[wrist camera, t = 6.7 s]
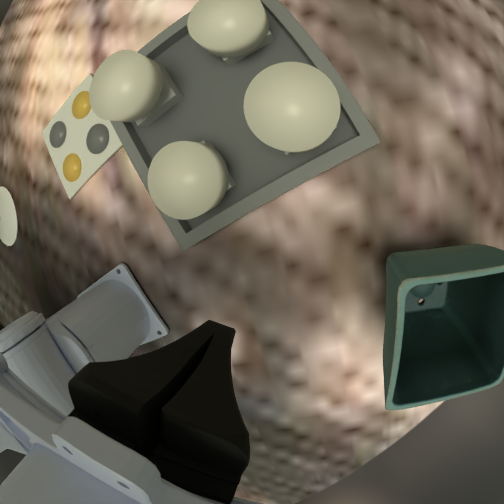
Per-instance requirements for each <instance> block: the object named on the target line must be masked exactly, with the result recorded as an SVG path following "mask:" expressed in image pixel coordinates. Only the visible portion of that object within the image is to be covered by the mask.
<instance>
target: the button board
mask: <svg viewBox="0 0 504 504" xmlns="http://www.w3.org/2000/svg"><path fill="white" fill-rule="evenodd" d="M260 1H261V3H262V5H263V7H264V10H265V12H266V15H267V17H268V20H269V29H268V33H267V35H266V37H265V39H264V40H263V41H262V43H261V44H260V45H259V46H257V47H256V48H255V49H253V50H252V51H250V52H248V53H246V54H243V55H240V56H236V57H219V56H216V55H213V54H211V53H209V52H208V51H207V50H205V49H204V48H203V47H202V46H201V45H200V44H198V43H197V42H196V41H195V40H194V39H193V38H192V37H191V35H190V34H189V31H188V27H187V21H188V17H189V14H190V12H189V13H188V14H186V15H185V16H183V17H182V18H180V19H179V20H178V21H176V22H175V23H173V24H172V25H171V26H169V27H168V28H167V29H165V30H164V31H163V32H161V33H160V34H159V35H157V36H156V37H155V38H154V39H152V40H151V41H150V42H149V43H148V44H146V45H145V46H144V47H143V48H142V49H140V50H139V51H138V53H140V54H142V55H144V56H146V57H148V58H150V59H152V60H154V61H155V62H156V63H157V64H158V65H159V67H160V69H161V71H162V75H163V86H162V91H161V94H160V97H159V99H158V101H157V102H156V104H155V106H154V107H153V108H152V109H151V111H150V112H148V113H147V114H146V115H145V116H144V117H142V118H140V119H138V120H136V121H133V122H120V121H110V122H111V124H112V126H113V128H114V130H115V132H116V133H117V135H118V137H119V139H120V141H121V143H122V145H123V147H124V149H125V151H126V153H127V154H128V156H129V158H130V160H131V162H132V164H133V166H134V167H135V169H136V171H137V173H138V175H139V177H140V178H141V180H142V182H143V184H144V186H145V187H146V189H147V191H148V193H149V189H148V171H149V167H150V164H151V162H152V160H153V158H154V157H155V155H156V154H157V153H158V152H159V151H160V150H161V149H162V148H163V147H165V146H166V145H168V144H170V143H173V142H177V141H191V142H200V143H204V144H207V145H210V146H211V147H213V148H214V149H216V150H217V151H218V152H219V153H220V154H221V156H222V157H223V159H224V161H225V163H226V165H227V169H228V175H229V182H228V187H227V191H226V193H225V195H224V197H223V199H222V200H221V201H220V203H219V204H218V205H217V206H216V207H214V208H213V209H211V210H209V211H207V212H205V213H203V214H201V215H200V216H198V217H195V218H192V219H187V220H180V219H175V218H172V217H169V216H168V215H166V214H164V213H163V212H162V211H161V210H160V209H159V208H158V207H157V206H156V207H157V208H158V210H159V212H160V214H161V215H162V217H163V219H164V220H165V222H166V224H167V225H168V227H169V229H170V230H171V232H172V234H173V235H174V237H175V239H176V240H177V242H178V244H179V245H180V247H181V249H182V250H183V251H184V250H186V249H188V248H189V247H191V246H193V245H194V244H196V243H198V242H199V241H201V240H203V239H205V238H206V237H208V236H210V235H211V234H213V233H215V232H217V231H218V230H220V229H222V228H223V227H225V226H227V225H229V224H230V223H232V222H234V221H236V220H237V219H239V218H241V217H242V216H244V215H246V214H248V213H250V212H251V211H253V210H255V209H257V208H258V207H260V206H262V205H264V204H265V203H267V202H269V201H271V200H273V199H274V198H276V197H278V196H280V195H282V194H283V193H285V192H287V191H289V190H291V189H293V188H294V187H296V186H298V185H300V184H302V183H304V182H305V181H307V180H309V179H311V178H313V177H315V176H317V175H319V174H320V173H322V172H324V171H326V170H328V169H330V168H332V167H334V166H335V165H337V164H339V163H341V162H343V161H345V160H347V159H349V158H351V157H353V156H355V155H357V154H359V153H361V152H362V151H364V150H366V149H368V148H370V147H372V146H374V145H376V144H378V143H380V140H379V139H378V137H377V135H376V133H375V131H374V130H373V128H372V126H371V124H370V123H369V121H368V119H367V117H366V116H365V114H364V112H363V111H362V109H361V107H360V106H359V104H358V103H357V101H356V99H355V98H354V96H353V95H352V93H351V92H350V90H349V89H348V87H347V86H346V84H345V83H344V81H343V80H342V78H341V77H340V75H339V74H338V72H337V71H336V70H335V68H334V67H333V65H332V64H331V63H330V61H329V60H328V59H327V57H326V56H325V55H324V53H323V52H322V51H321V49H320V48H319V47H318V45H317V44H316V43H315V42H314V40H313V39H312V38H311V37H310V35H309V34H308V33H307V32H306V31H305V29H304V28H303V27H302V26H301V25H300V23H299V22H298V21H297V20H296V19H295V18H294V17H293V15H292V14H291V13H290V12H289V11H288V10H287V9H286V8H285V7H284V6H283V5H282V3H281V2H280V1H279V0H260ZM282 62H300V63H304V64H308V65H310V66H313V67H315V68H317V69H318V70H320V71H321V72H323V73H324V74H325V75H326V76H327V77H328V78H329V79H330V80H331V81H332V83H333V84H334V86H335V88H336V90H337V92H338V95H339V99H340V117H339V120H338V123H337V125H336V127H335V129H334V131H333V133H332V134H331V135H330V137H329V138H328V139H327V140H326V141H325V142H324V143H323V144H322V145H320V146H318V147H317V148H315V149H312V150H310V151H306V152H300V153H292V152H285V151H282V150H278V149H275V148H273V147H271V146H268V145H267V144H265V143H264V142H262V141H261V140H260V139H258V138H257V137H256V135H255V134H254V133H253V132H252V131H251V129H250V127H249V126H248V124H247V121H246V119H245V115H244V107H243V106H244V97H245V93H246V90H247V88H248V86H249V84H250V83H251V81H252V80H253V79H254V78H255V76H256V75H257V74H259V73H260V72H261V71H262V70H264V69H265V68H267V67H269V66H271V65H274V64H277V63H282ZM149 194H150V193H149Z"/></svg>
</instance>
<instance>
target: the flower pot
mask: <svg viewBox="0 0 504 504" xmlns="http://www.w3.org/2000/svg"><path fill="white" fill-rule="evenodd" d="M438 283H439V284H438ZM420 299H424V302H423V303H422V304H419V303H418V301H419V300H420ZM383 371H384V390H385V408H386V409H387V410H402V409H407V408H413V407H417V406H422V405H426V404H431V403H435V402H440V401H444V400H448V399H452V398H456V397H460V396H464V395H468V394H472V393H475V392H479V391H481V390H485V389H488V388H491V387H494V386H495V385H497V384H499V383H500V382H501V381H502V379H503V377H504V251H503V250H501V249H498V248H495V247H491V246H488V245H481V244H465V245H457V246H449V247H441V248H433V249H424V250H414V251H403V252H395V253H391V254H390V255H389V256H388V257H387V260H386V314H385V332H384V344H383Z"/></svg>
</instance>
